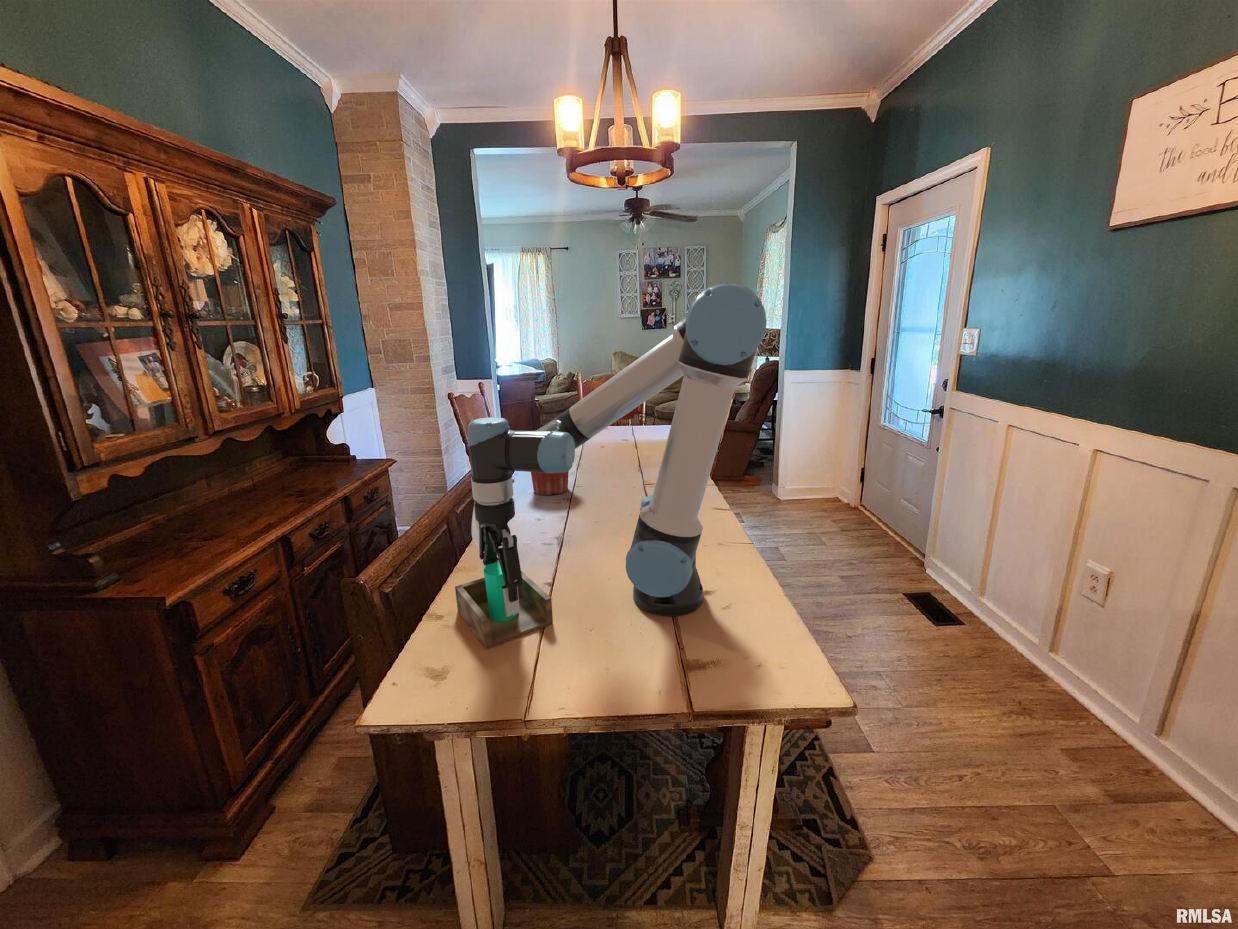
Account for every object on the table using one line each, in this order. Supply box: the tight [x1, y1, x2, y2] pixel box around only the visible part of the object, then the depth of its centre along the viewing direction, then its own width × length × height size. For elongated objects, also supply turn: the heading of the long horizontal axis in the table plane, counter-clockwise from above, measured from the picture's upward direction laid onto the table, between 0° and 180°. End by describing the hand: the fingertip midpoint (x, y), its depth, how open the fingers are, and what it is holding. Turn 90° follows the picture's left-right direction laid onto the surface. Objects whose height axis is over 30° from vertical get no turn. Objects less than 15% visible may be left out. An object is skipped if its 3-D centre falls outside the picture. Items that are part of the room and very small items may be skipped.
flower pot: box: [530, 470, 570, 496], centre depth 182 cm, size 16×16×16 cm
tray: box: [454, 570, 554, 650], centre depth 105 cm, size 16×14×6 cm
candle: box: [483, 560, 518, 622], centre depth 104 cm, size 6×6×12 cm
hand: (503, 603), depth 105 cm, fingers open, 9 cm apart
